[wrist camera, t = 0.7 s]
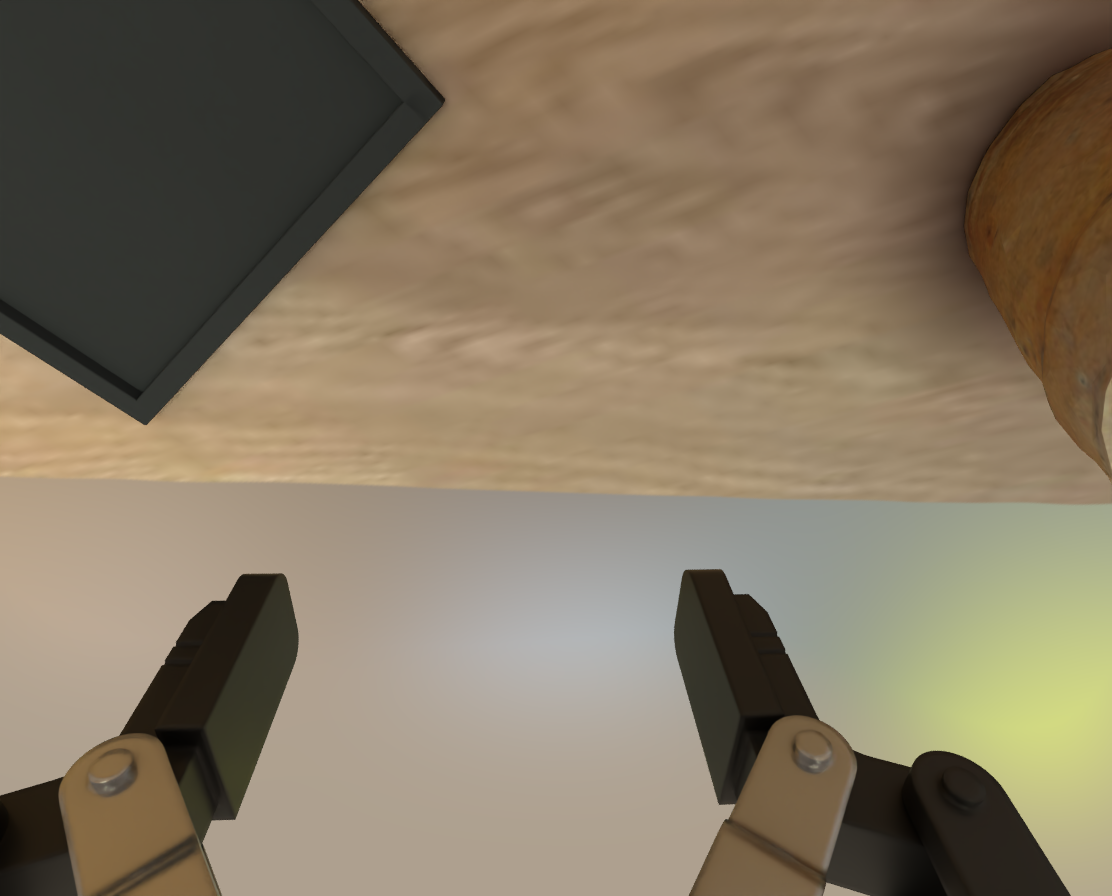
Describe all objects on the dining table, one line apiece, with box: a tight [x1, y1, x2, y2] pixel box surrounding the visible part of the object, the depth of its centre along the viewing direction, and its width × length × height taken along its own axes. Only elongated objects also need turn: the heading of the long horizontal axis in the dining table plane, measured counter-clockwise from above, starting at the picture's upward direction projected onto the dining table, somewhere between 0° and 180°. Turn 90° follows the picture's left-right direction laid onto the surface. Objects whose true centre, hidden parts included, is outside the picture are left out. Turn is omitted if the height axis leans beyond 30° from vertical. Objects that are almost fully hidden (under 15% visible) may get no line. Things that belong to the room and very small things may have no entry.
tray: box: [0, 0, 445, 425], centre depth 26 cm, size 26×24×1 cm
